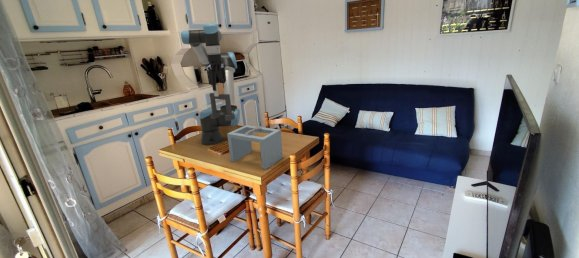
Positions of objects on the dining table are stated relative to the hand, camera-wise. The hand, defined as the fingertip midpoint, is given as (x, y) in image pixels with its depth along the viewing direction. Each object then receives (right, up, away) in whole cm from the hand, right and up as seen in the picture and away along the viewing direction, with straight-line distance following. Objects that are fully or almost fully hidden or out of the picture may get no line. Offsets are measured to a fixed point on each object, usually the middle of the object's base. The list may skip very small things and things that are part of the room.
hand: (219, 95), depth 160 cm
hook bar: (+21, -22, -5) cm, 31 cm away
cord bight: (+1, -13, +4) cm, 14 cm away
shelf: (+22, -37, 0) cm, 43 cm away
